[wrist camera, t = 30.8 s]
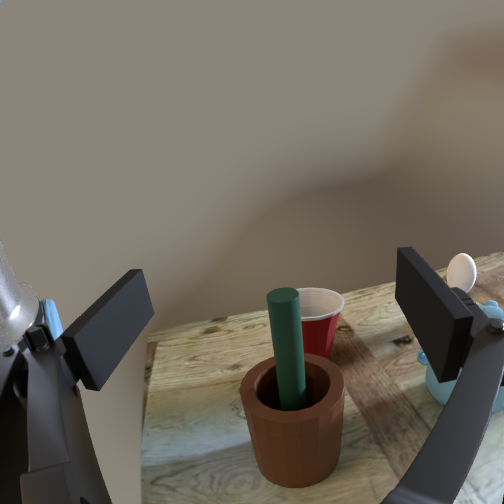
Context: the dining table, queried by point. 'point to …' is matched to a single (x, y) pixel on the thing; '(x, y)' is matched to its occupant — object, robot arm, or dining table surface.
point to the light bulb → (461, 272)
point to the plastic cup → (319, 319)
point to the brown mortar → (295, 423)
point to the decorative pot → (445, 389)
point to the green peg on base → (288, 347)
